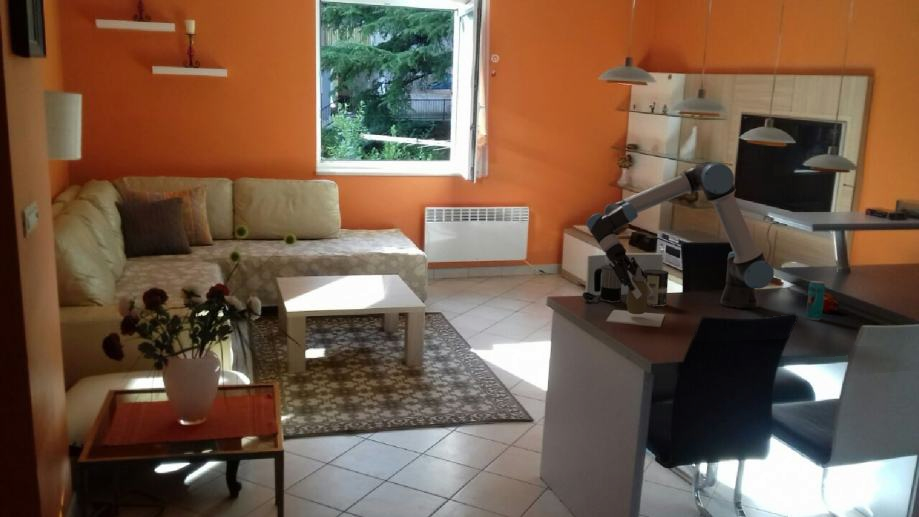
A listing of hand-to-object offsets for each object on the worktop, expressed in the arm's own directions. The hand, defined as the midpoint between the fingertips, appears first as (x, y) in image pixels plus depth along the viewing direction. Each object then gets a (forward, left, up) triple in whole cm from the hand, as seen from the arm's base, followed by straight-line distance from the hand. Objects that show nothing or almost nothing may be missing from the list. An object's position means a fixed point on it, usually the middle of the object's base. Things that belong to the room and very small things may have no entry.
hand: (645, 295), depth 309 cm
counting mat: (+3, -2, -10) cm, 10 cm away
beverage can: (-63, -31, -10) cm, 71 cm away
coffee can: (-1, -33, -10) cm, 34 cm away
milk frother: (+20, -30, -10) cm, 37 cm away
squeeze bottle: (+3, -2, -8) cm, 8 cm away
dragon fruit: (-69, -49, -10) cm, 85 cm away
